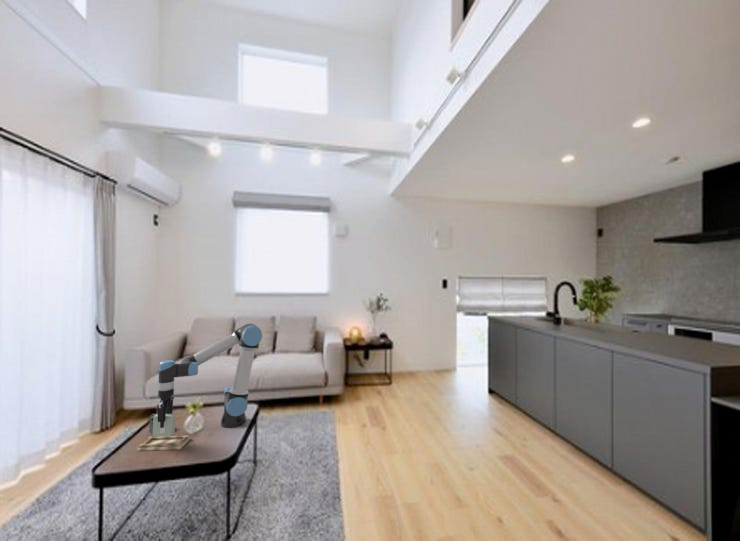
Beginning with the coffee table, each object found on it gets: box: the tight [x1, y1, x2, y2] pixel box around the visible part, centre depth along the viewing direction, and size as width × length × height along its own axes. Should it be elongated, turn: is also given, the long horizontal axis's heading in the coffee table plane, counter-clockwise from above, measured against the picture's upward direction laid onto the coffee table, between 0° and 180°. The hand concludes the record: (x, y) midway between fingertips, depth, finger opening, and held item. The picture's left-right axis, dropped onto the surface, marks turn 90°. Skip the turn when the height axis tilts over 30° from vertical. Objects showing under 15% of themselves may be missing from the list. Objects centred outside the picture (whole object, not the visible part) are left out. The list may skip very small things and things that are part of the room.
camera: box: [148, 413, 157, 437], centre depth 199 cm, size 14×11×10 cm
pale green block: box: [151, 413, 176, 437], centre depth 184 cm, size 10×4×11 cm, turn 95°
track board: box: [136, 435, 191, 452], centre depth 184 cm, size 22×12×2 cm, turn 95°
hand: (164, 431), depth 184 cm, fingers closed on pale green block, 3 cm apart
